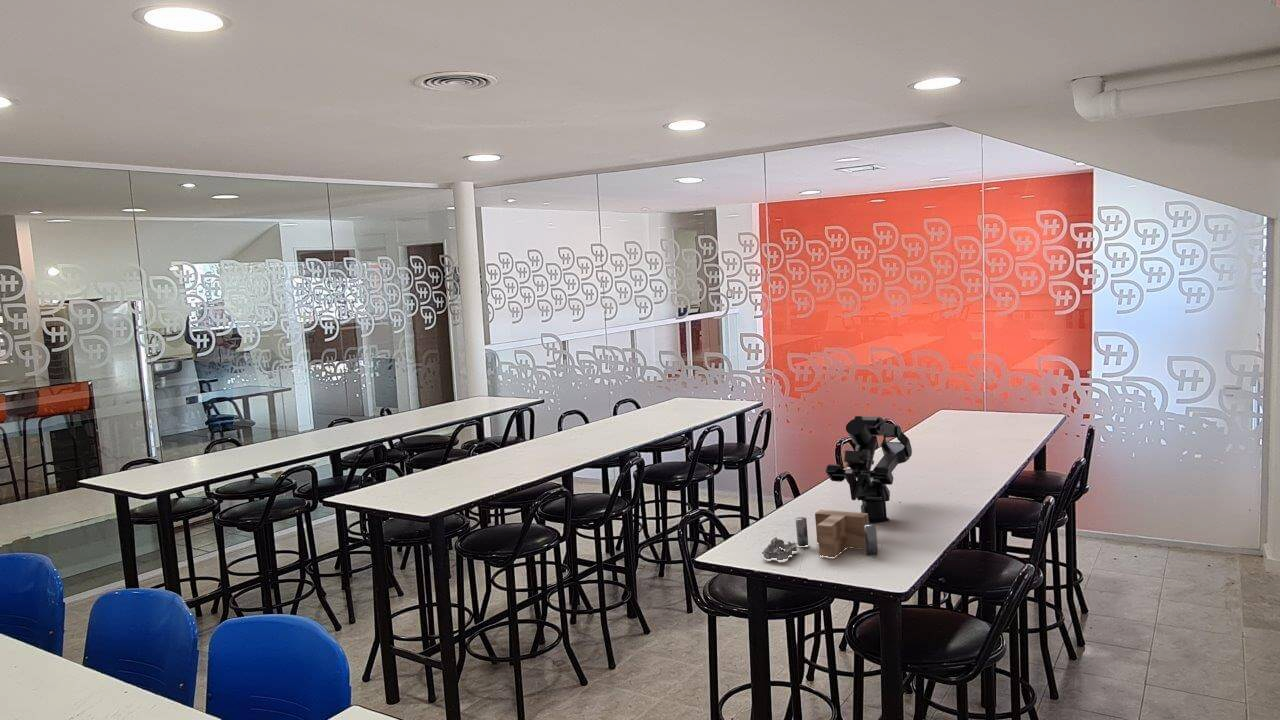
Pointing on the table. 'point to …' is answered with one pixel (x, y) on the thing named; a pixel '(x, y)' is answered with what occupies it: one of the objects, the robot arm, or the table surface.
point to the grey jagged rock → (779, 549)
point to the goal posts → (869, 535)
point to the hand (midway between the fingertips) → (853, 499)
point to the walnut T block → (840, 531)
